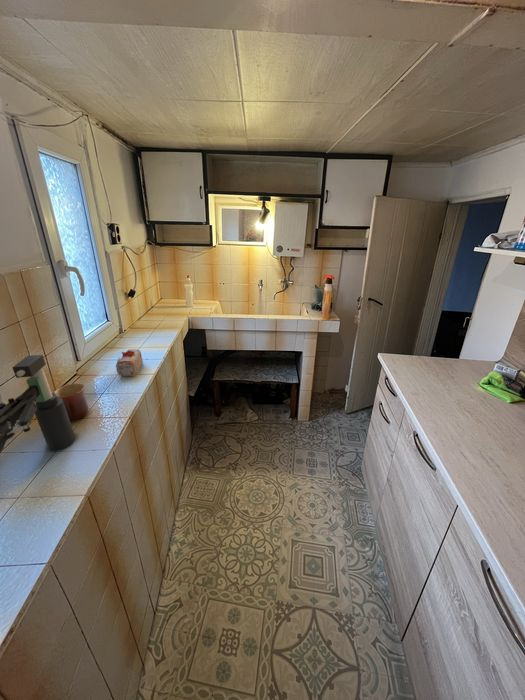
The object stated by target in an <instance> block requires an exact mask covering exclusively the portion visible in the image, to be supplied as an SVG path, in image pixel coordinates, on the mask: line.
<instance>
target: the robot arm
mask: <svg viewBox="0 0 525 700" xmlns="http://www.w3.org/2000/svg"><path fill="white" fill-rule="evenodd" d="M39 395H40V393H39V390H38V388H37V386H30V387H29V386H28V387H27V388H26V390H25V391H23V393H21V394H20V395H18V396H17V397H15V398H14V397H11V398H8V399H7V401H8V403H5V402H1V403H0V453H2V451H3V450H4V447H5V445H6V442H7V441H8V440H9V439H11V438H12V437H14V436H15V433H18V432H21V431H23V433H27V432H30V431H31V426H30V425H31V423H32V421H33V418H34V417H35V412H36V410H37V408H36V405H35V404H36V403H35V401H36V398H37V397H38V396H39Z"/></svg>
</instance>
